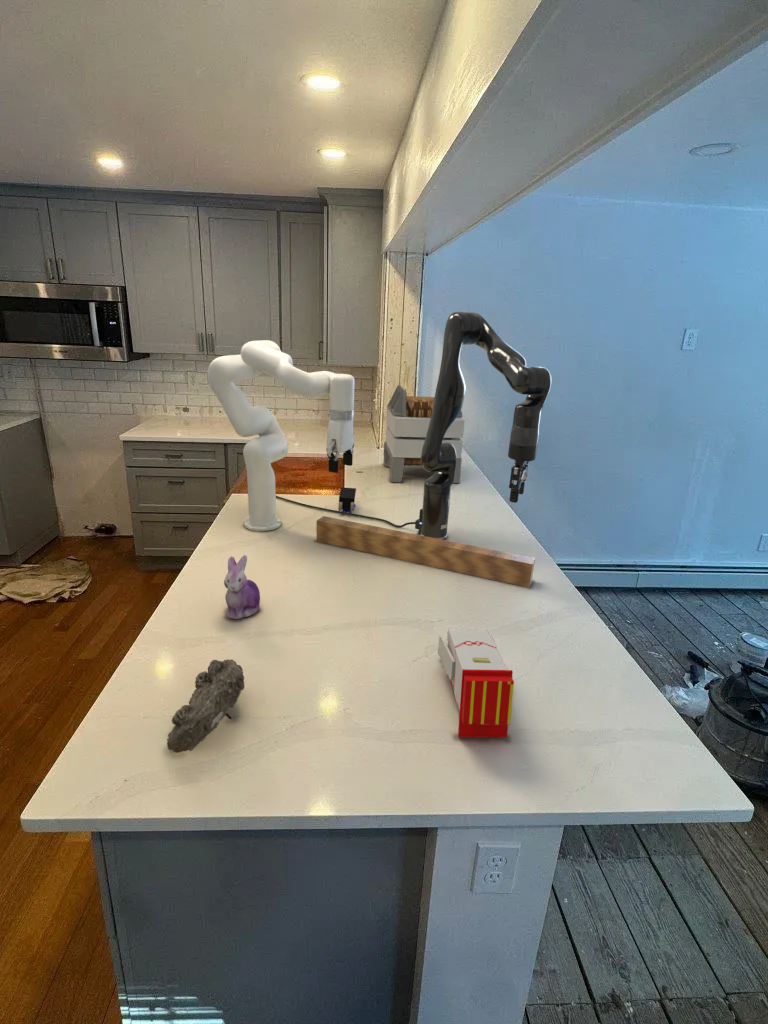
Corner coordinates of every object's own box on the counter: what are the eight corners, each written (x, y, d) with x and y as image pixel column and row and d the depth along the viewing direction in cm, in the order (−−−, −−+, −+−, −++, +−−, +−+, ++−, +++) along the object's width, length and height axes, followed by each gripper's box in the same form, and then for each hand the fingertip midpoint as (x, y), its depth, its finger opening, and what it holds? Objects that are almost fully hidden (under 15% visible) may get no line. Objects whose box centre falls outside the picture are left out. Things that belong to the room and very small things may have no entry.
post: (531, 580, 169) (535, 558, 167) (529, 587, 165) (532, 564, 162) (323, 536, 195) (323, 515, 192) (316, 541, 190) (316, 520, 188)
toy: (488, 613, 130) (523, 677, 101) (484, 667, 133) (517, 744, 104) (435, 612, 130) (455, 676, 101) (432, 666, 133) (451, 743, 103)
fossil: (192, 660, 117) (244, 628, 112) (224, 691, 120) (276, 661, 115) (142, 746, 98) (202, 712, 93) (182, 779, 101) (242, 748, 96)
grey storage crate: (382, 463, 289) (386, 382, 275) (445, 464, 293) (451, 384, 279) (390, 482, 257) (394, 392, 243) (460, 483, 261) (468, 394, 247)
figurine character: (355, 520, 214) (356, 503, 227) (355, 502, 211) (356, 486, 224) (337, 519, 214) (339, 502, 227) (337, 501, 210) (339, 485, 224)
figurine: (229, 624, 139) (226, 568, 134) (220, 605, 148) (216, 552, 142) (266, 616, 143) (265, 562, 138) (255, 598, 152) (254, 546, 147)
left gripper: (343, 410, 184) (342, 461, 190) (317, 418, 169) (316, 473, 175) (364, 412, 181) (362, 464, 187) (339, 420, 166) (338, 476, 172)
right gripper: (515, 435, 163) (508, 489, 168) (504, 444, 151) (497, 502, 156) (541, 438, 160) (533, 493, 166) (533, 448, 148) (525, 507, 153)
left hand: (340, 468), depth 181 cm, fingers open, 9 cm apart
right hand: (516, 497), depth 161 cm, fingers open, 8 cm apart
